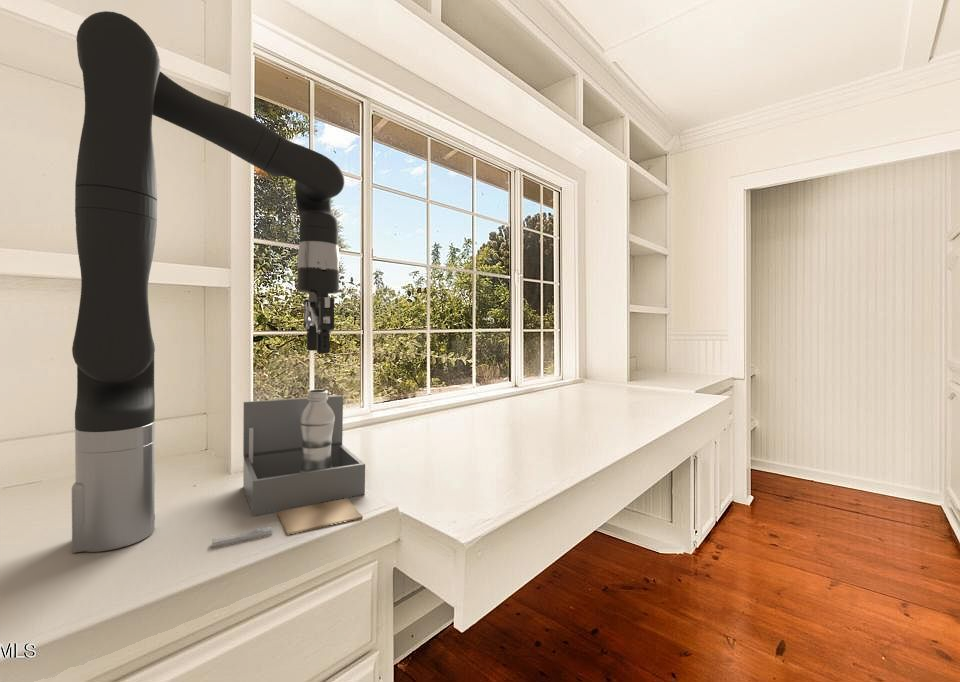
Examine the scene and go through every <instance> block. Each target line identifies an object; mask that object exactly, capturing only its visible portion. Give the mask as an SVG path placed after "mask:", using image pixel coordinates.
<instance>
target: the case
mask: <svg viewBox="0 0 960 682" xmlns="http://www.w3.org/2000/svg"><path fill="white" fill-rule="evenodd" d="M307 398H308V397H299V398H283V399H281V398H280V399H269V400H268V399H267V400H253V401H249V400H248V401H243V417H242V419H243V420H242V422H243V424H242V425H243V428H242V429H243V430H242V431H243V432H242V434H243V435H242V436H243V437H242V438H243V440H242V446H243V447H242V454H243V456H242V457H243V477H242V478H243V479H242V480H243V485H242V486H243V487H242V488H243V489H244V494H245V496H246V499H247V502H248V507H249V509H250V512H251V515H252V517H257V516H260V515H265V514H269V513H276V512H279V511H284V510H289V509H294V508H300V507H305V506H310V505H315V504H317V503H318V504H320V503H322V502H323V503H325V502H327V501H328V502H331V500H333V501H336V499H339V500H341V498H344V499H346V498H347V497H349V498H353V497H352V496H354V497H357V496H356V495H359V496H362V495H361V494H365V495H366V493H365V492H366V463H365V462H363V461H362V460H361V459H360V458H359V457H358V456H356V455H355V454H354V453H353V452H351V451H350V449H348V448H347V447H346V446H344V444H343V431H344V430H343V429H344V428H343V421H344V420H343V419H344V411H343V410H344V407H343V406H344V396H343V395H341V394H340V395H328V400H326V402H327V404H328V405H329V406H330V408H331V409H332V411H333V412H334V416H335V421H334V427H333V433H332V443H331V458H332V468H328V469H321V470H315V471H308V472H301V473H300V469H301V461H302V447H303V446H302V435H301V427H300V416H301V413H302V412H303V410H304V409H305V407H306V406H307V405H308V403H309V401H307ZM347 499H348V498H347Z"/></svg>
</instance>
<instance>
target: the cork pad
mask: <svg viewBox="0 0 960 682" xmlns="http://www.w3.org/2000/svg"><path fill="white" fill-rule="evenodd" d="M277 515H278V518H279V519H280V522H281V525H282V527H283V529H284V531H285V534H286V536H291V535H290V534H292V535H296V534H300V533H299V532H301V533H303V531H305V532H308V531H307V530H310V531H313V529H314V530H317V528H319V529H322V528H321V527H323V528H326V527H325V526H327V527H329V526H328V525H331V524H335V523H339V522H344V521H350V520H354V521H357V520H356V519H359V520H363V519H362V518H363V515H362V514H361V512H360V511H359V510H358V509H357V508H356V507H355V505H353V503H352V502H351V501H350V500H349V498H344V499H339V500H333V501H328V502H323V503H318V504H313V505H307V506H302V507H297V508H292V509H287V510H281V511H277ZM350 522H351V521H350ZM295 533H296V534H295Z"/></svg>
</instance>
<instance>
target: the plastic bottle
mask: <svg viewBox="0 0 960 682" xmlns="http://www.w3.org/2000/svg"><path fill="white" fill-rule="evenodd" d="M328 392H329V391H328V390H327V389H310V390H307V397H306V398H307V401H309V403H308V405H307V406H306V407H305V409H304V410H303V412H302V413H301V416H300V427H301V435H302V446H303V447H302V461H301V469H300V473H301V472H308V471H315V470H321V469H328V468H332V458H331V443H332V433H333V427H334V421H335V416H334V412H333V411H332V409H331V408H330V406H329V405H328V404H327V402H326V400H328V396H329V395H328Z"/></svg>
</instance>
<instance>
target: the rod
mask: <svg viewBox="0 0 960 682" xmlns="http://www.w3.org/2000/svg"><path fill="white" fill-rule="evenodd" d="M268 535H270V536H272V535H273V529H272V526H266V527H262V528H258V529H252V530H249V531H244V532H240V533H239V532H238V533H235V534H230V535H226V536H221V537H220V536H219V537H217V538H212V539H211V548H212V549H216V547H217V548H220V547H221V548H222V547H225V546H229V545H228V544H230V545H233V544H232V543H234V544H238V543H237V542H239V543H242V542H243V543H244V542H247V541H252V540H256V539H260V538H259V537H261V538H265V537H269V536H268ZM264 536H265V537H264ZM255 538H256V539H255ZM251 539H252V540H251ZM224 545H225V546H224Z"/></svg>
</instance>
